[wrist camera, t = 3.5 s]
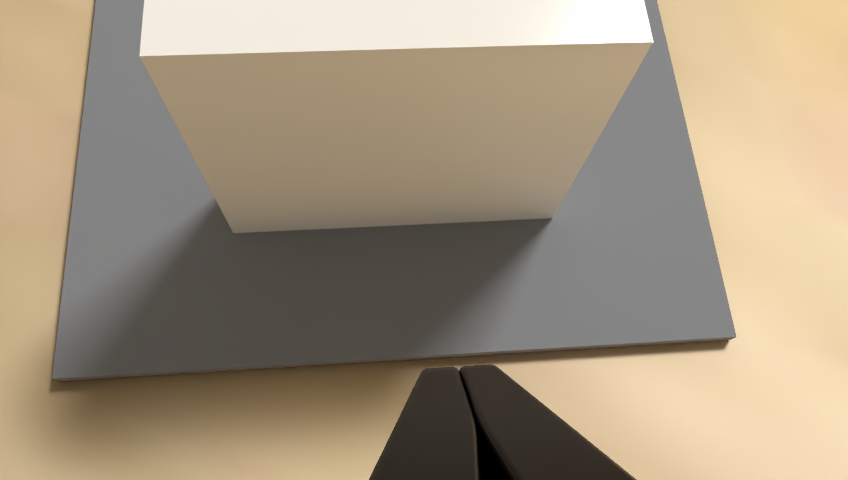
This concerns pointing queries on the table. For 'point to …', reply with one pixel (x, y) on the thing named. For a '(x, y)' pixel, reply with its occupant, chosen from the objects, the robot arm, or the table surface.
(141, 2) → the mat
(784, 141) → the table surface
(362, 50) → the tile
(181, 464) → the table surface
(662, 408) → the table surface
